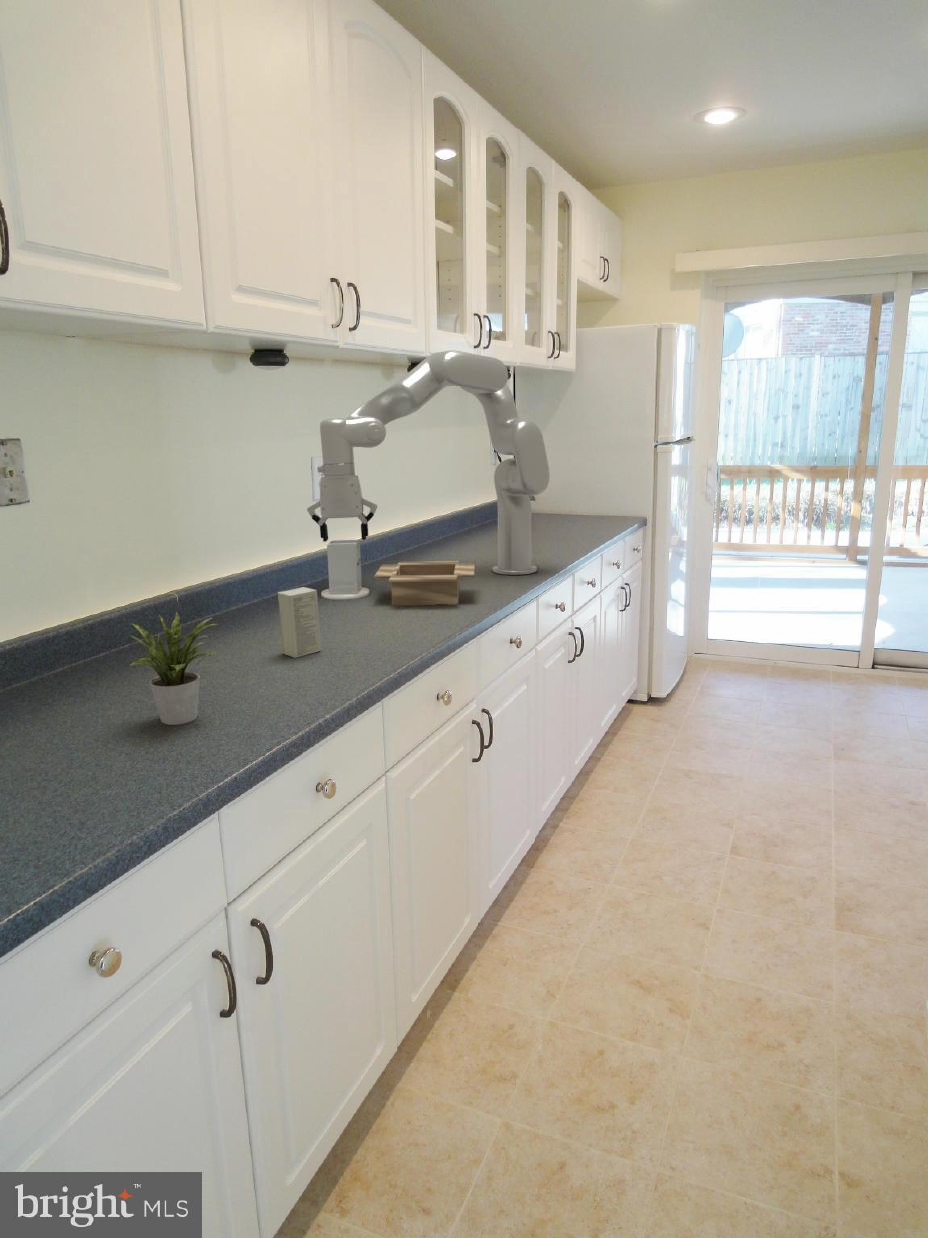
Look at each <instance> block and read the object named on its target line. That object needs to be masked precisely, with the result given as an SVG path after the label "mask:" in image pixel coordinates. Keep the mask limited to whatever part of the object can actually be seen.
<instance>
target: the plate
mask: <svg viewBox="0 0 928 1238" xmlns="http://www.w3.org/2000/svg"><path fill="white" fill-rule="evenodd" d="M320 594H321V597H322V598H324V599H326V600H327V599H328V600H337V601H338V600H342V601H343V600H354V599H359V598H360V599H361V598H364V597H368V596H369V595H370V589H369V588H368V587H364V586H362V588H361V589H360V590H359V592H358V594H330V592H329V588H327V589H324V590H321V592H320Z"/></svg>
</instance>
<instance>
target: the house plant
mask: <svg viewBox="0 0 928 1238" xmlns="http://www.w3.org/2000/svg"><path fill="white" fill-rule="evenodd" d="M158 616H159V619H160V621H161V623H162V627H163V631H164V634H165V638H166V643H167V648H168V649H167V650H168V652H167V650H166V647H165V645H164V642H163V639H162V637H161V634H158V635H157V636H156V637H157V642H156V640H155V638H154V637H153V636H152V635H151V633H149V631H147V630H146V629H144V628H142V627H141V626H139V625H138V624H134V623H131V625H132V626H133V627H134V628H136V629H137V631H138V632H139V633H140V635H141V636H142V637H143V638H144V640H145V642H146V643H147V644H146V643H144V641H142V640H141V639H140V638H137V637H136V636H133V635H131V634H130V635H129V636H130V638H133V639H134V640H136V641H137V642H139V643H140V645H142V647H144V648H145V649H147V650H148V651H149V657H142V658H139V659H138V660H135V661H133V662H132V663H130V666H134V665H135V666H136V665H148V666H149V667H151V668H152V669H153V670H154V671H155V672H156V673H157V675H158V676H155V677H153V678H152V679H150V681H149V685H150V688H151V692H152V695H153V698H154V702H155V704H156V708H157V712H158V715H159V718H160V722H161V723H162V724H165V725H169V726H170V725H171V726H172V725H173V726H174V725H175V726H176V725H183V724H187V723H191V722H193V721H194V720H196V719H197V717H198V709H199V699H200V698H199V695H200V684H201V683H200V681H201V677H200V674H198V673H195V672H192V670H190V671H186V670H187V668H188V665H189V664H190V663H191V662H192V661H194V659H196V658H200V657H202V658H201V659H200V661H199V662H198V663H196V665H195V666H197V665H198V664H199V663H201V661H202V660H203V659H204V658H206V657H212V658H214V659H216V657H215V656H213V655H212V654H218V653H219V652H217V651H214V652H213V651H212V652H209V653H204V651H203V650H200V649H198V648H199V647H200V645H202V644H204V643H206V640H204V641H201V642H199V643H197V644H195V645H194V646H193V644H194V643H195V642H197V640H199V639H202V638H205V637H206V638H207V637H208V635H201V636H199V637H198V638H197V636H198V635H199V633H200V632H201V631H202V630H204V629H206V628H207V627H211V626H218V625H219V623H210V624H206V623H207V622H208V621H210V620H212V619H213V618H214V616H212V617H209V618H207V619H205V620H203V621H201V622H200V623H198V624H197V625H196V627H194V629H192V631H190V633H188V634H187V635H185V636H183V637H181V633H182V626H181V622H180V615H179V613H178V611H177V610H176V612H175V617H174V619H173V621H172V622H171V626H170V629H169V627H168V625H167V624H166V622H165V620H164V618H163V617H162V616H161V615H160V614H158ZM205 624H206V625H205ZM184 640H185V642H184V644H183V645H182V647H180V645H181V642H183V641H184ZM192 646H193V647H192ZM200 652H203V653H200ZM199 653H200V654H199Z"/></svg>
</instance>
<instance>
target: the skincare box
mask: <svg viewBox="0 0 928 1238" xmlns="http://www.w3.org/2000/svg"><path fill="white" fill-rule="evenodd" d="M277 599H278V601H277V602H278V612H279V614H278V615H279V623H280V624H279V625H280V636H281V637H280V638H281V639H280V640H281V648H282V650H281V651H282V655H283V654H284V655H285V656H289V657H291V658H295V659H296V658H299V657H303V656H307V655H310V654H314V653H317V652H320V651H321V650H322V646H321V634H320V619H319V618H320V617H319V615H320V614H319V604H318V602H319V601H318V590H317V589H313V588H310V587H306V586H302V587H296V588H292V589H288V590H283V591H278V592H277Z"/></svg>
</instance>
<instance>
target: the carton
mask: <svg viewBox="0 0 928 1238" xmlns="http://www.w3.org/2000/svg"><path fill="white" fill-rule="evenodd" d="M475 566H476V565H475V562H474V563H470V562H469V563H460V561H459V560H435V561H433V560H432V561H431V560H430V561H428V560H427V561H425V560H424V561H421V560H420V561H399V562H398V563H397V564H381V565H380V567H379V568H378V570H377V571H376V573H375V574H374V576H373V579H378V580H379V579H380V580H381V579H388V582H389V583H391V584H390V585H391V586H390V589H391V606H429V605H432V606H433V605H434V606H437V605H436V604H448V605H459V597H460V578H475V568H476V567H475Z"/></svg>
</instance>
